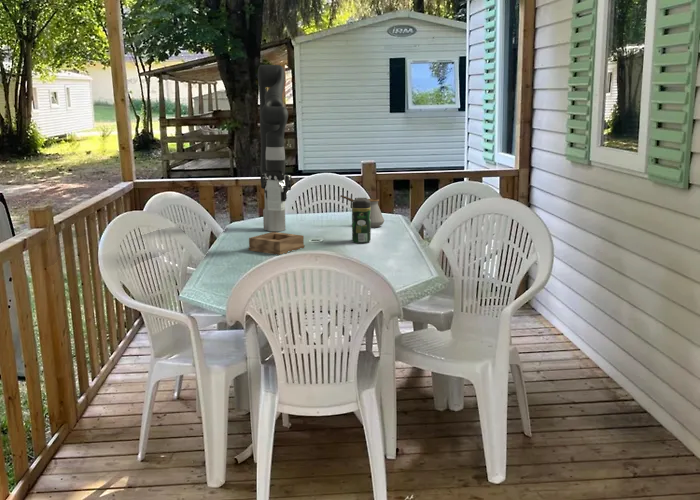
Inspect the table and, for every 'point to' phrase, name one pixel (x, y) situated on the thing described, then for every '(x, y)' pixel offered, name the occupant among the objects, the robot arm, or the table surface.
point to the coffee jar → (361, 220)
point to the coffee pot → (373, 212)
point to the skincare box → (274, 196)
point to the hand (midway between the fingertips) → (276, 200)
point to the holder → (276, 243)
